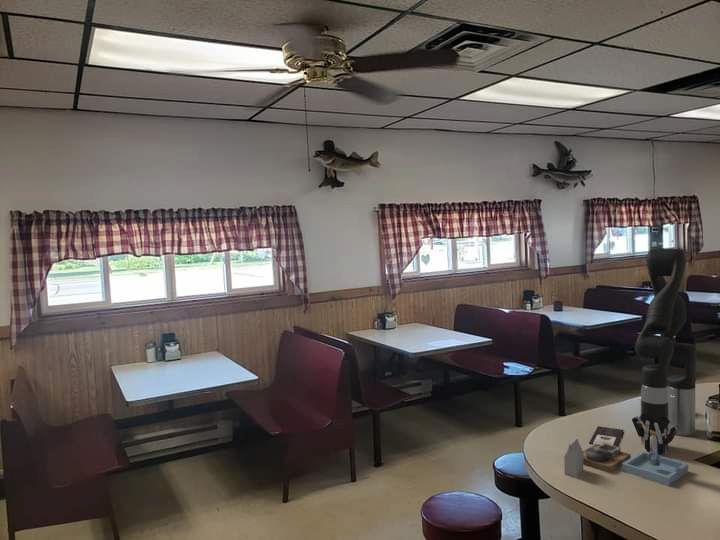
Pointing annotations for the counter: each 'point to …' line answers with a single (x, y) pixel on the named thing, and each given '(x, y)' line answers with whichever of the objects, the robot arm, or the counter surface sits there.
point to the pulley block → (604, 457)
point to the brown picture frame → (606, 436)
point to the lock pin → (653, 449)
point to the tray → (655, 469)
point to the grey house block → (573, 459)
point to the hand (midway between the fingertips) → (654, 452)
